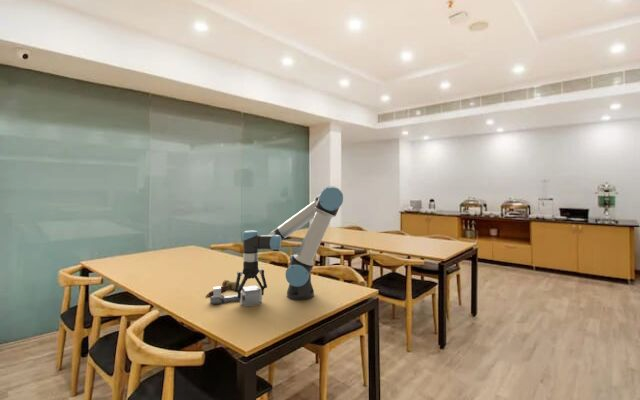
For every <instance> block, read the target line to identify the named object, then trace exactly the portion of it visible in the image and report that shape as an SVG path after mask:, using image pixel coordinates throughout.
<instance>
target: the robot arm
mask: <svg viewBox="0 0 640 400" xmlns="http://www.w3.org/2000/svg"><path fill="white" fill-rule="evenodd" d="M343 202H344V195H343V192H342V191H341V189H339V188H338V187H337V186H334V185H329V186H326V187H324V188H323V189H321V191H320V193H319V195H316V196H315V198H314V199H313V201H312V202H311V203H309V204H308V205H306V206H305V207H303V208H301V209H300V210H299V211H298V212H297V213H295V214H294V215H292V216H291V217H290V218H288V219H287V220H286V221H284V222H283V223H282V224H280V225H279V226H277V227H276V228H275V229H273V230H272V231H270V232H269V233H268V234H259V231H257V230H251V229H249V230H245V231H244V232H243V233H242V234H243V237H242V238H243V239H242V242H243V246H242V249H243V252H242V254H243V256H242V257H243V258H242V259H243V262H242V264H243V266H242V267H243V269H242V271H236V274H237V276H236V280H235V282H236V283H235V287H234V292H235V293H237V294H238V298H239V299H240V301H239V304H240V306H243V302H242V288H243V287H245V285H246V283H247V281H248V280H250V279H255V281H256V282H257V284H258V287H259V289H260V303H263V297H262V296H264V295H265V293H264V292H265V291H264V290H265V289H268V284H267V280H266V276H265V270H264V269H263V268H261V269H259V250H273V251H275V250H280V249H281V248H282V241H284V240H285V239H287V237H289V236H291V235H292V234H293V233H294V232H296V231H298V230H299V229H300V228H302V227H303V226H305V225H307V223H309V222H310V221H311V222H310V225H309V227H308V229H307V231H306V233H305V236H304V237H303V240H302V242H301V244H300V247H299V249H298V251H297V253H295V254H291V255H290V256H289V265H288V267H287V268H286V270H285V279H286V281H287V283H288V288H287V290H286V297H288V299H291V300H298V301H299V300H301V301H302V300H309V299H312V298H313V297H314V296H315V291H314V288H313V284H312V280H311V279H312V270H313V267H314V266H315V263H314V258H315V256H316V254H317V252H318V249H319V247H320V245H321V242H322V240H323V238H324V237H325V233H326V232H327V229H328V227H329V225H330V222H331V220H332V219H333V218H336V217H337V214H338V212H339V209H340V208H341V206H342V205H343ZM258 274H260V277H261V279H262V282H261V280H260V279H259V276H258ZM242 276H243V278H242V280H241V277H242ZM239 284H240V286H239ZM238 286H239V288H238Z"/></svg>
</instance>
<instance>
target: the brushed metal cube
mask: <svg viewBox="0 0 640 400" xmlns="http://www.w3.org/2000/svg"><path fill="white" fill-rule="evenodd" d="M241 291H242V305H243V306H244V307H245V308H246V307H251V306H253V307H254V306H260V305H261V302H260V287H259V286H258V285H247V286H243V288H242V290H241Z"/></svg>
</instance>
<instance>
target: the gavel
mask: <svg viewBox="0 0 640 400" xmlns="http://www.w3.org/2000/svg"><path fill="white" fill-rule="evenodd" d="M235 283H236V281H231V280H228V279H224V280H223V282H222V284H221V286H220V287H221V293H222V292H224V291H227V290H228V289H230V290H234V287H235ZM240 284H241V283H239V286H240ZM239 286H238V288H239ZM211 296H213V290H212V291H209V292H208V293H207V294H206V295H205V298H210V297H211Z"/></svg>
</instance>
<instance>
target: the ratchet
mask: <svg viewBox="0 0 640 400" xmlns="http://www.w3.org/2000/svg"><path fill="white" fill-rule="evenodd" d="M221 287H222V286H220V285H219V286H213V289H212V291H213V296H210V297H209V300H210V305H211V304H212V306H220V305H223V304H225V303H226V304H227V303H233V302H238V301H239V302H240V299H239V298H238V293H237V294H231V295H223V294H222V292H221Z"/></svg>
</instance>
